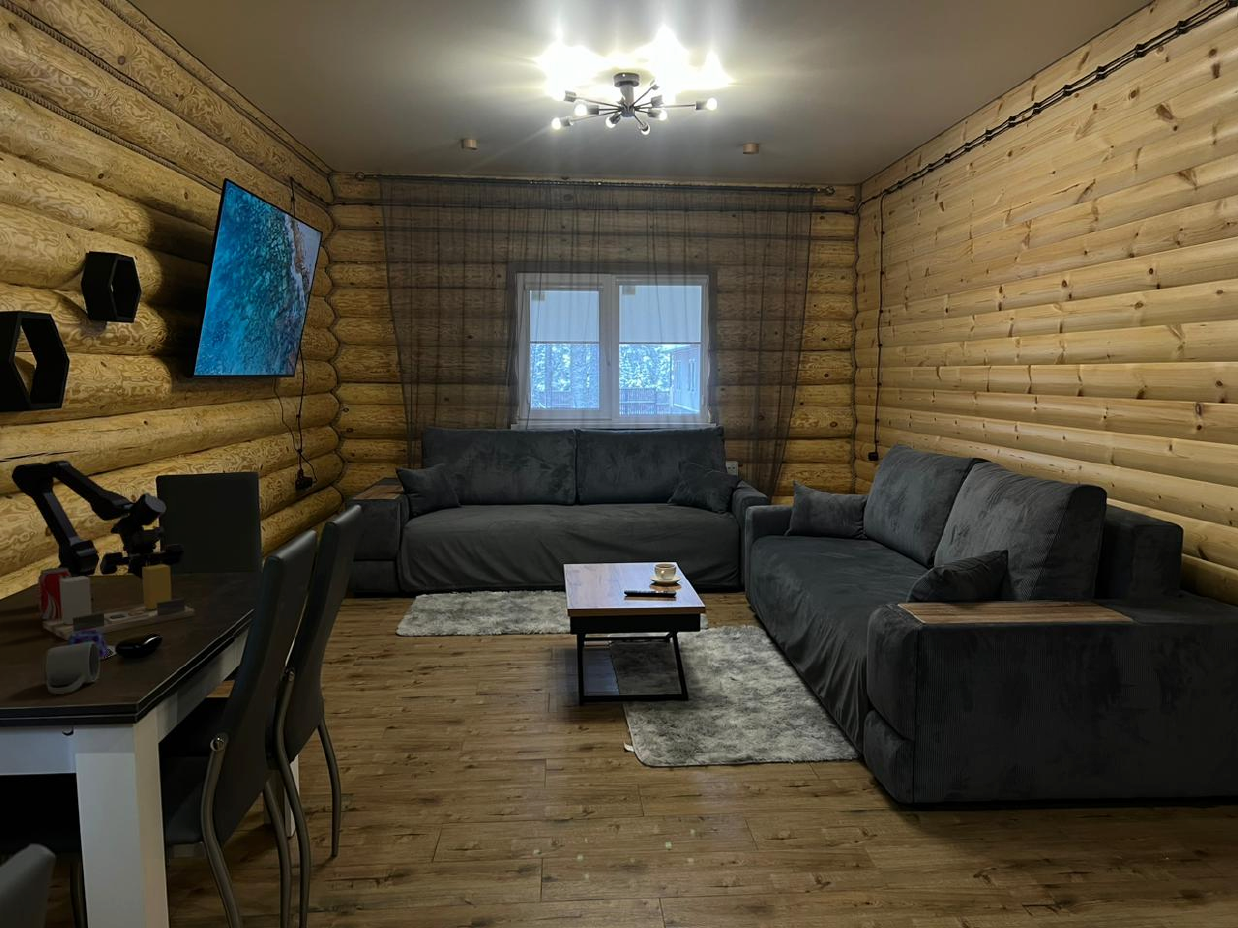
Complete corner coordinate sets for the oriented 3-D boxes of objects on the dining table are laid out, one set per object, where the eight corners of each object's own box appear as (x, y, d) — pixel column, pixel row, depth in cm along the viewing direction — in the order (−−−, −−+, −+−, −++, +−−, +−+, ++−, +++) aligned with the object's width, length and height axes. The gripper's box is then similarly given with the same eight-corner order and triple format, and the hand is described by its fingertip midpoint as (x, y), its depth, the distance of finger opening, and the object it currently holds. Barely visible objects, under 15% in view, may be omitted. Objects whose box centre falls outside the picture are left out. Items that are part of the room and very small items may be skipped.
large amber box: (144, 606, 216) (142, 567, 215) (165, 603, 220) (163, 564, 219) (150, 609, 214) (148, 569, 213) (171, 605, 217) (169, 566, 216)
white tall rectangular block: (61, 621, 203) (59, 579, 202) (85, 617, 206) (83, 575, 205) (67, 624, 200) (65, 581, 199) (91, 620, 204) (89, 578, 203)
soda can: (57, 622, 208) (54, 573, 207) (32, 621, 210) (29, 572, 209) (81, 615, 215) (78, 567, 214) (57, 613, 217) (54, 566, 216)
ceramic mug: (53, 679, 168) (51, 640, 167) (101, 674, 171) (99, 636, 170) (36, 698, 158) (33, 657, 157) (87, 693, 161) (84, 653, 160)
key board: (43, 627, 204) (41, 608, 204) (167, 604, 225) (166, 587, 225) (66, 640, 194) (65, 620, 193) (194, 615, 215) (193, 597, 214)
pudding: (55, 670, 174) (53, 645, 174) (50, 655, 184) (49, 631, 183) (123, 659, 181) (122, 634, 181) (115, 645, 191) (114, 622, 190)
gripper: (101, 521, 213) (121, 571, 207) (179, 513, 227) (200, 559, 221) (91, 549, 219) (110, 599, 212) (168, 539, 233) (188, 585, 227)
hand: (153, 585), depth 218 cm, fingers closed
